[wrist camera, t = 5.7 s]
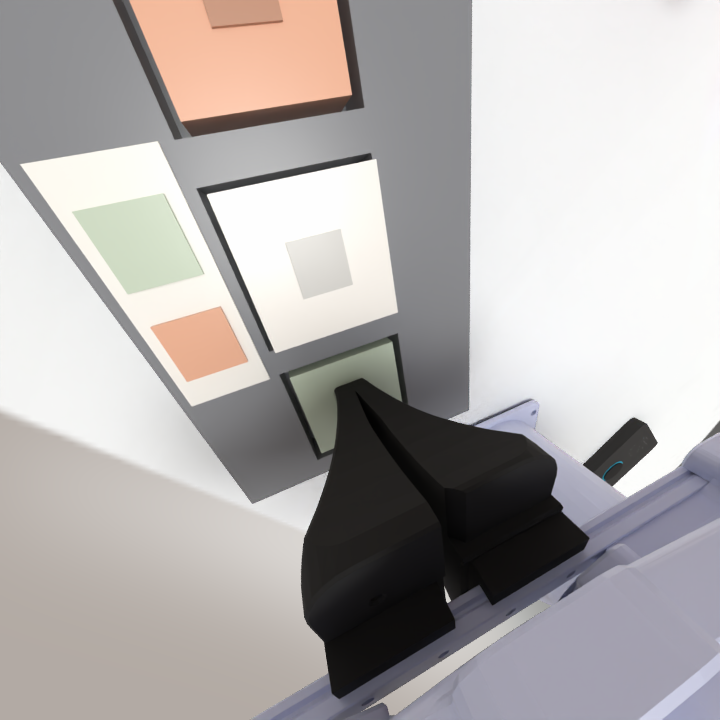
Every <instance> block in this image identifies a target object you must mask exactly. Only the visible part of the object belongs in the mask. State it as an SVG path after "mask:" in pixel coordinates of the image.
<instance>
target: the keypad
mask: <svg viewBox="0 0 720 720" xmlns="http://www.w3.org/2000/svg"><path fill="white" fill-rule="evenodd" d="M337 5H338V11H339V17H340V24H341V30H342V36H343V42H344V48H345V54H346V60H347V67H348V73H349V79H350V85H351V91H352V96H351V97H350V99H349V100H348V102H347V104H346V105H345V107H344V108H343V110H342V111H341V112H337V113H331V114H325V115H319V116H313V117H307V118H301V119H295V120H289V121H284V122H278V123H272V124H266V125H260V126H254V127H248V128H242V129H236V130H230V131H224V132H218V133H212V134H206V135H200V136H195V137H192V136H191V135H190V133H189V132H188V131H187V129H186V128H185V127H184V125H183V124H182V123H181V121H180V119H179V116H178V114H177V112H176V109H175V107H174V105H173V102H172V100H171V98H170V95H169V93H168V91H167V88H166V86H165V83H164V81H163V79H162V76H161V74H160V72H159V69H158V67H157V65H156V62H155V60H154V58H153V55H152V53H151V50H150V48H149V46H148V43H147V41H146V39H145V36H144V34H143V32H142V29H141V27H140V25H139V22H138V20H137V18H136V15H135V13H134V10H133V8H132V6H131V3H130V1H129V0H0V162H1V164H2V165H3V166H4V168H5V169H6V171H7V172H8V173H9V175H10V176H11V177H12V179H13V180H14V181H15V183H16V184H17V185H18V187H19V188H20V190H21V191H22V192H23V194H24V195H25V196H26V198H27V199H28V200H29V202H30V203H31V204H32V206H33V207H34V209H35V210H36V211H37V213H38V214H39V215H40V217H41V218H42V219H43V221H44V222H45V223H46V225H47V226H48V228H49V229H50V230H51V232H52V233H53V234H54V236H55V237H56V238H57V240H58V241H59V242H60V244H61V245H62V246H63V248H64V249H65V251H66V252H67V253H68V255H69V256H70V257H71V259H72V260H73V261H74V263H75V264H76V265H77V267H78V268H79V270H80V271H81V272H82V274H83V275H84V276H85V278H86V279H87V280H88V282H89V283H90V284H91V286H92V287H93V289H94V290H95V291H96V293H97V294H98V295H99V297H100V298H101V299H102V301H103V302H104V303H105V305H106V306H107V307H108V309H109V310H110V312H111V313H112V314H113V316H114V317H115V318H116V320H117V321H118V322H119V324H120V325H121V326H122V328H123V329H124V331H125V332H126V333H127V335H128V336H129V337H130V339H131V340H132V341H133V343H134V344H135V345H136V347H137V348H138V350H139V351H140V352H141V354H142V355H143V356H144V358H145V359H146V360H147V362H148V363H149V364H150V366H151V367H152V369H153V370H154V371H155V373H156V374H157V375H158V377H159V378H160V379H161V381H162V382H163V383H164V385H165V386H166V387H167V389H168V390H169V392H170V393H171V394H172V396H173V397H174V398H175V400H176V401H177V402H178V404H179V405H180V406H181V408H182V409H183V411H184V412H185V413H186V415H187V416H188V417H189V419H190V420H191V421H192V423H193V424H194V425H195V427H196V428H197V430H198V431H199V432H200V434H201V435H202V436H203V438H204V439H205V440H206V442H207V443H208V444H209V446H210V447H211V448H212V450H213V451H214V453H215V454H216V455H217V457H218V458H219V459H220V461H221V462H222V463H223V465H224V466H225V467H226V469H227V470H228V472H229V473H230V474H231V476H232V477H233V478H234V480H235V481H236V482H237V484H238V485H239V486H240V488H241V489H242V491H243V492H244V493H245V495H246V496H247V497H248V499H249V500H250V501H251V503H252V504H253V503H256V502H258V501H260V500H263V499H265V498H267V497H270V496H272V495H274V494H277V493H279V492H281V491H283V490H286V489H288V488H290V487H293V486H295V485H297V484H300V483H302V482H304V481H306V480H309V479H311V478H313V477H316V476H318V475H320V474H323V473H325V472H327V471H329V469H330V465H331V460H332V456H333V451H334V448H333V449H331V450H328V451H326V452H324V453H321V451H320V449H319V446H318V444H317V441H316V439H315V437H314V434H313V432H312V430H311V427H310V425H309V423H308V420H307V418H306V416H305V413H304V411H303V408H302V406H301V404H300V401H299V399H298V397H297V394H296V392H295V390H294V387H293V385H292V383H291V380H290V377H289V372H288V371H291V370H294V369H297V368H300V367H303V366H305V365H308V364H311V363H314V362H317V361H320V360H323V359H325V358H328V357H331V356H334V355H337V354H340V353H343V352H345V351H348V350H351V349H354V348H357V347H360V346H363V345H365V344H368V343H371V342H374V341H377V340H380V339H383V338H385V337H387V338H388V339H390V340H391V341H392V343H393V349H394V355H395V361H396V367H397V374H398V380H399V386H400V392H401V398H402V402H403V403H405V404H408V405H410V406H412V407H414V408H416V409H418V410H421V411H424V412H426V413H429V414H431V415H434V416H437V417H440V418H444V419H449V418H452V417H454V416H456V415H459V414H461V413H463V412H465V411H468V410H469V325H470V193H471V61H472V0H337ZM374 159H376V161H377V168H378V175H379V182H380V189H381V196H382V203H383V210H384V217H385V224H386V231H387V238H388V245H389V253H390V260H391V267H392V274H393V281H394V288H395V295H396V302H397V309H398V313H395V314H392V315H389V316H386V317H383V318H380V319H377V320H374V321H371V322H368V323H365V324H362V325H359V326H356V327H353V328H350V329H347V330H344V331H341V332H338V333H335V334H332V335H329V336H326V337H323V338H320V339H317V340H314V341H311V342H308V343H305V344H302V345H299V346H296V347H293V348H290V349H287V350H284V351H281V352H278V353H275V351H274V349H273V347H272V344H271V342H270V340H269V338H268V335H267V333H266V331H265V328H264V326H263V324H262V321H261V319H260V317H259V314H258V312H257V310H256V308H255V305H254V303H253V301H252V298H251V296H250V294H249V291H248V289H247V287H246V284H245V282H244V280H243V277H242V275H241V273H240V271H239V268H238V266H237V264H236V261H235V259H234V257H233V254H232V252H231V250H230V247H229V245H228V243H227V241H226V238H225V236H224V234H223V231H222V229H221V227H220V224H219V222H218V220H217V217H216V215H215V213H214V211H213V208H212V206H211V204H210V201H209V199H208V197H207V194H211V193H216V192H221V191H226V190H230V189H235V188H240V187H245V186H249V185H254V184H259V183H264V182H268V181H273V180H278V179H283V178H288V177H292V176H297V175H302V174H307V173H311V172H316V171H321V170H326V169H331V168H335V167H340V166H345V165H350V164H354V163H359V162H364V161H369V160H374Z"/></svg>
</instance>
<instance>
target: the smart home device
mask: <svg viewBox="0 0 720 720" xmlns="http://www.w3.org/2000/svg"><path fill="white" fill-rule="evenodd" d="M657 443H658V442H657V441H656V439H655V437H654V435H653V434H652V432H651V430H650V428H649V427H648V425H647V424H646V423H644V422H642V421H640V420H638V419H636V418H632V419H630V420H629V421H628V422H627V423H626V424H624V425H623V426H622V427H621V428H620V429H619V430H618V431H617V432H616V433H615V434H614V435H613V436H612V437H611V438H610V439H609V440H608V441H607V442H606V443H605V444H604V445H603V446H602V447H601V448H600V449H599V450H598V451H597V452H596V453H595V454H594V455H593V456H592V457H591V458H589V459H588V460H587V461H586V462H585V463H584V464H583V466H585V467H586V468H587V469H589V470H590V471H591V472H593V473H594V474H595V475H597V476H598V477H600V478H601V479H602V480H604V481H605V482H606V483H608V484H609V485H610V486H613V485H614V484H615V483H617V482H618V481H619V480H620V479H621V478H622V477H623V476H624V475H625V474H626V473H627V472H628V471H629V470H631V469H632V468H633V467H634V466H635V465H636V464H637V463H638V462H639V461H640V460H641V459H642V458H643V457H644V456H646V455H647V454H648V453H649V452H650V451H651V450H652V449H653V448H654V447H655V446H656V445H657Z"/></svg>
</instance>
